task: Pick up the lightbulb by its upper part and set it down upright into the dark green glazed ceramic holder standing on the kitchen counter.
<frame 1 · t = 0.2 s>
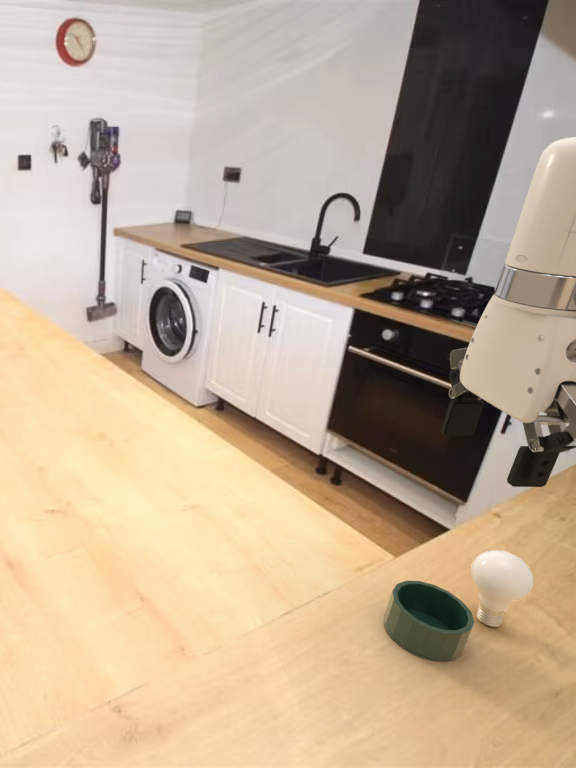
hand: (488, 457, 54), 30 cm above the kitchen counter, tool pointing down, fingers open, 9 cm apart
lightbulb: (487, 624, 73), on the kitchen counter
holder: (421, 634, 71), on the kitchen counter
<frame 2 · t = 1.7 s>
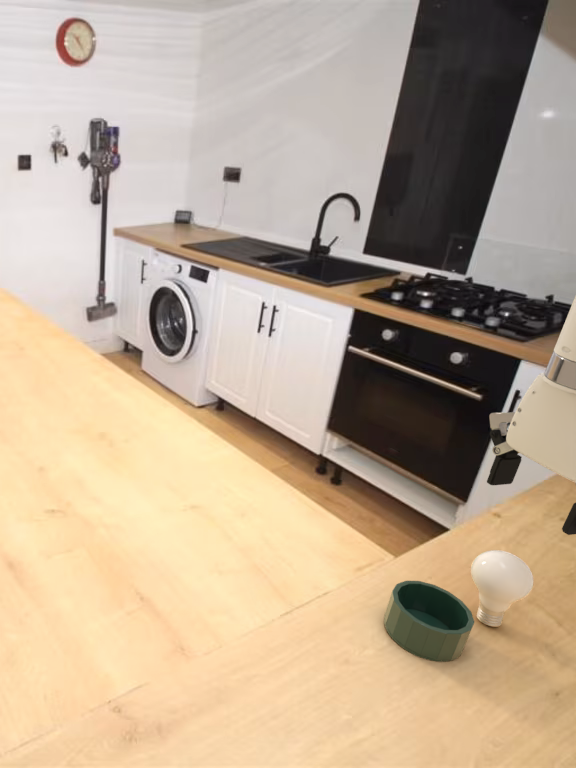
hand: (534, 506, 65), 19 cm above the kitchen counter, tool pointing down, fingers open, 9 cm apart
nothing on the kitchen counter moved.
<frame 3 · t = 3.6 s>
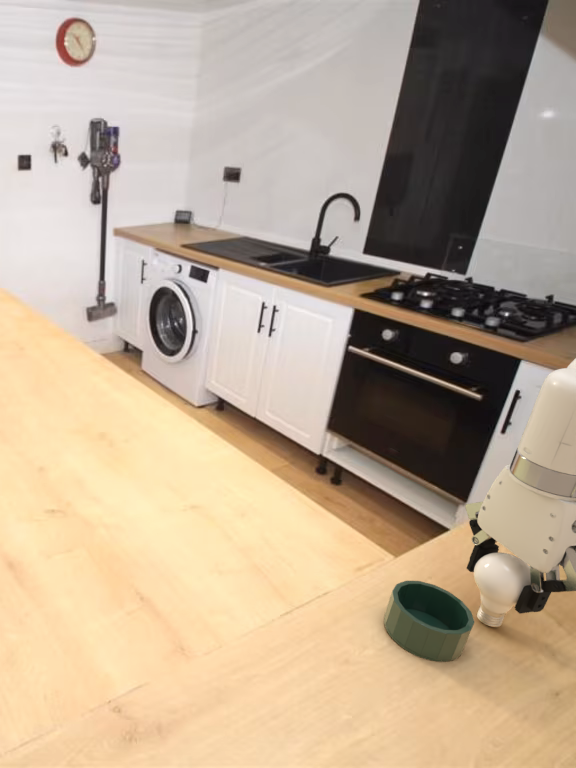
hand: (501, 588, 70), 6 cm above the kitchen counter, tool pointing down, fingers closed on lightbulb, 6 cm apart
lightbulb: (487, 623, 73), on the kitchen counter, touching gripper
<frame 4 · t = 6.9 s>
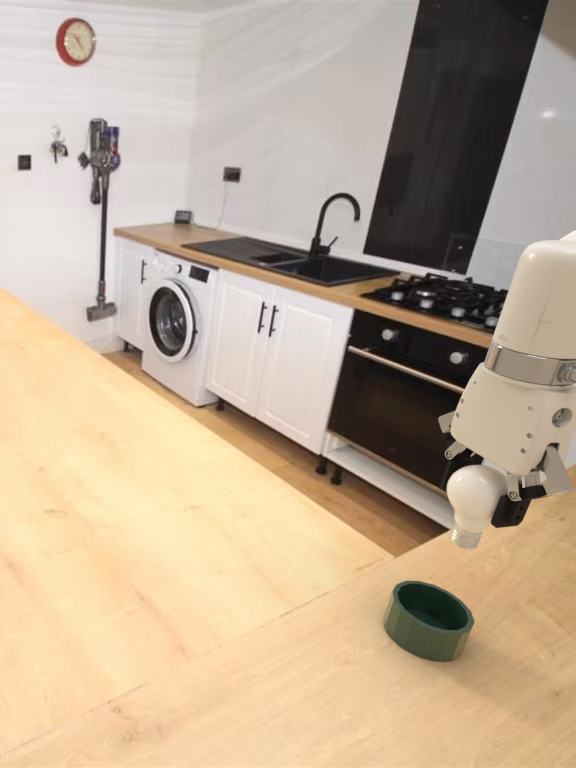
hand: (477, 504, 63), 20 cm above the kitchen counter, tool pointing down, fingers closed on lightbulb, 6 cm apart
lightbulb: (462, 547, 66), point 14 cm above the kitchen counter, touching gripper
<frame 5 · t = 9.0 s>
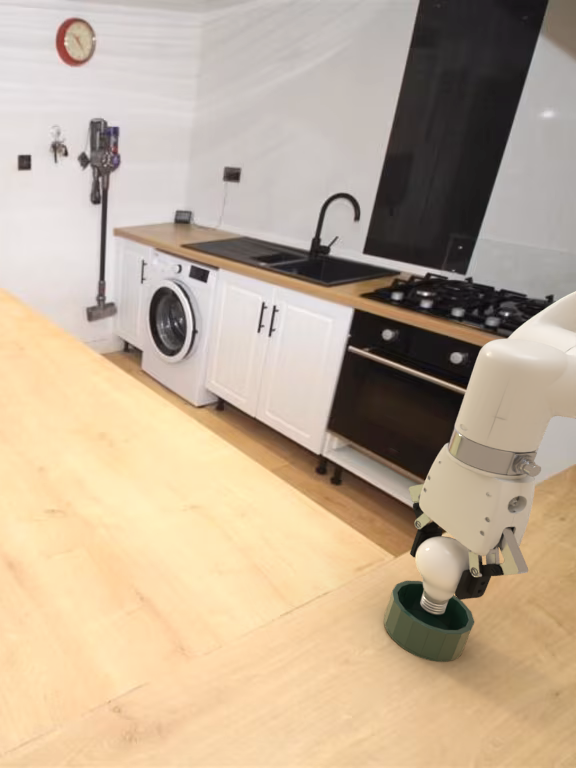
hand: (443, 574, 67), 10 cm above the kitchen counter, tool pointing down, fingers closed on lightbulb, 6 cm apart
lightbulb: (430, 611, 70), point 4 cm above the kitchen counter, touching gripper
when the fingers open (7 cm above the kitchen counter, at t = 10.5 s): lightbulb stays where it is, resting on holder.
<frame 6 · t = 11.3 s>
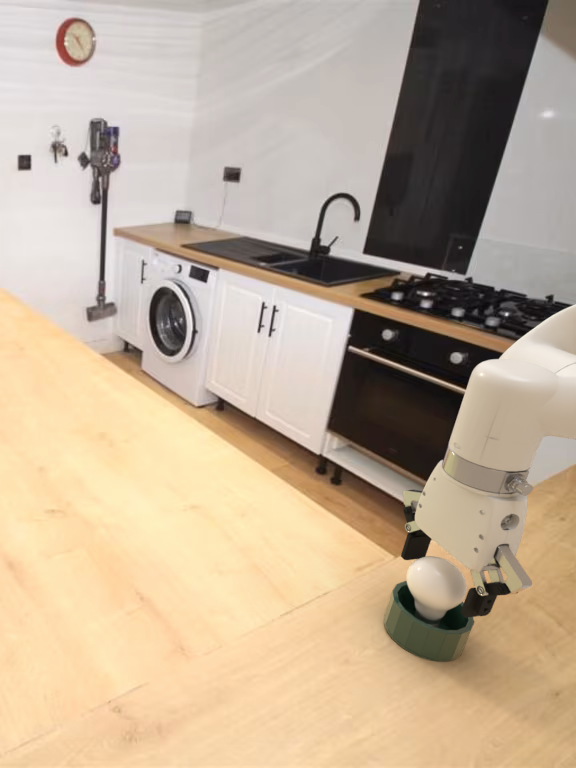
hand: (441, 584, 68), 9 cm above the kitchen counter, tool pointing down, fingers open, 9 cm apart
lightbulb: (423, 632, 71), resting on holder
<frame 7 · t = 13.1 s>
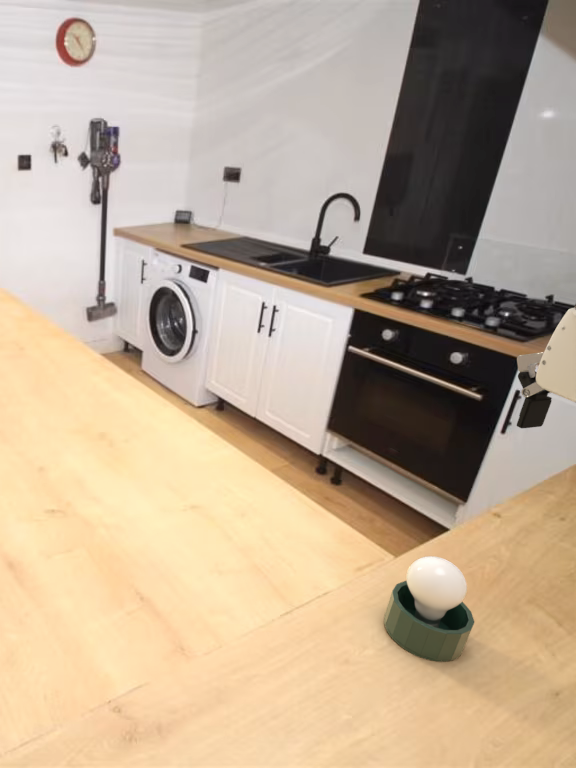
hand: (567, 445, 64), 26 cm above the kitchen counter, tool pointing down, fingers open, 9 cm apart
nothing on the kitchen counter moved.
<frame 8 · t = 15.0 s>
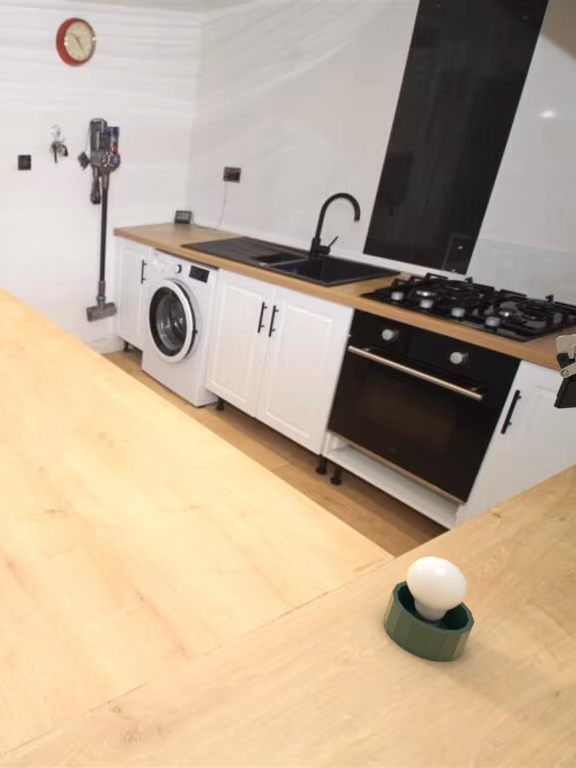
nothing on the kitchen counter moved.
at the end: lightbulb 0.2 cm off-centre in the holder, point 0.3 cm above the holder's base; lightbulb tilted 4°; the gripper is holding nothing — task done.
